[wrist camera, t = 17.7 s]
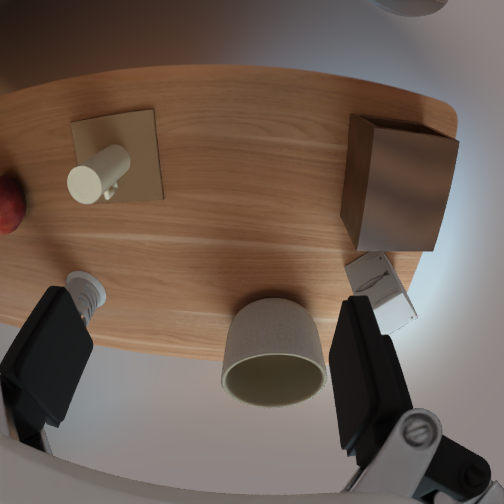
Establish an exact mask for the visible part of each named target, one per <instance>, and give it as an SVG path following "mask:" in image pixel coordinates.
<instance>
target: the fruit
mask: <svg viewBox="0 0 504 504" xmlns="http://www.w3.org/2000/svg"><path fill="white" fill-rule="evenodd" d="M26 206H27V205H26V199H25V195H24V193H23V191H22V189H21V188H20V186H19V185H18V183H17V182H16V181H15V180H14V179H13V178H10V177H8V176H5V175H3V176H0V235H4V234H9V233H11V232H13V231H15V230H16V229H17V227H18V226H19V225H20V223H21V221H22V220H23V218H24V216H25V213H26Z"/></svg>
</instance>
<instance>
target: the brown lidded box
mask: <svg viewBox="0 0 504 504" xmlns="http://www.w3.org/2000/svg"><path fill="white" fill-rule="evenodd" d="M458 148H459V141H458V140H456V139H454V138H452V137H450V136H448V135H446V134H444V133H442V132H440V131H438V130H436V129H433V128H431V127H429V126H427V125H425V124H420V123H415V122H409V121H402V120H396V119H389V118H381V117H373V116H365V115H355V114H350V126H349V139H348V150H347V161H346V171H345V180H344V189H343V198H342V206H341V214H340V217H341V219H342V221H343V223H344V225H345V227H346V229H347V231H348V234H349V236H350V238H351V240H352V242H353V244H354V247H355V249H356V251H433V250H434V247H435V244H436V240H437V237H438V234H439V230H440V227H441V223H442V219H443V216H444V212H445V208H446V204H447V200H448V196H449V192H450V188H451V183H452V179H453V174H454V169H455V164H456V158H457V153H458Z"/></svg>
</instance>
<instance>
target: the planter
mask: <svg viewBox="0 0 504 504" xmlns="http://www.w3.org/2000/svg"><path fill="white" fill-rule="evenodd" d="M326 381H327V373H326V366H325V361H324V356H323V352H322V346H321V342H320V337H319V334H318V330H317V327H316V325H315V322H314V320H313V318H312V317H311V315H310V314H309V313H308V311H307V310H306V309H304V308H303V307H302V306H300V305H299V304H297V303H295V302H293V301H290V300H287V299H282V298H266V299H261V300H257V301H255V302H252V303H250V304H248V305H247V306H245V307H244V308H242V309H241V310H240V311H239V312H238V313H237V314H236V316H235V317H234V319H233V321H232V323H231V325H230V328H229V332H228V335H227V341H226V346H225V353H224V360H223V368H222V375H221V384H222V387H223V389H224V390H225V392H226V393H227V394H228V395H229V396H231V397H232V398H233V399H235V400H237V401H239V402H241V403H244V404H247V405H250V406H255V407H261V408H282V407H288V406H293V405H297V404H300V403H303V402H305V401H307V400H309V399H311V398H313V397H314V396H316V395H317V394H318V393H319V392H320V391H321V390H322V389H323V387H324V386H325V384H326Z"/></svg>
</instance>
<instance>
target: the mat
mask: <svg viewBox="0 0 504 504" xmlns="http://www.w3.org/2000/svg"><path fill="white" fill-rule="evenodd" d="M71 128H72V134H73V141H74V147H75V152H76V158H77V163H78V165H79V164H81V163H82V162H84V161H85V160H87V159H88V158H90V157H91V156H93V155H94V154H96V153H97V152H99V151H100V150H102V149H103V148H105V147H107V146H108V145H112V144H117V145H120V146H122V147H123V148H125V149H126V151H127V152H128V154H129V156H130V167H129V169H128V171H127V172H126V173H125V174H124V175H123V176H122V177H121V178H120V179H119V180H118V181H117V184H118V191H117V192H116V193H115V194H114V195H113V196H112V197H111V198H110V199H109V200H106V199H105V198H104V194H103V195H102V196H101V197H100V198H99V199H98V200H97V201H95V202H94V203H92V204H96V203H111V202H129V201H151V200H164V193H163V185H162V177H161V169H160V161H159V152H158V143H157V134H156V123H155V112H154V109H147V110H140V111H132V112H125V113H119V114H113V115H107V116H101V117H96V118H90V119H85V120H80V121H76V122H72V123H71ZM111 188H112V186H111V187H110V188H109V190H110V189H111Z"/></svg>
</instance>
